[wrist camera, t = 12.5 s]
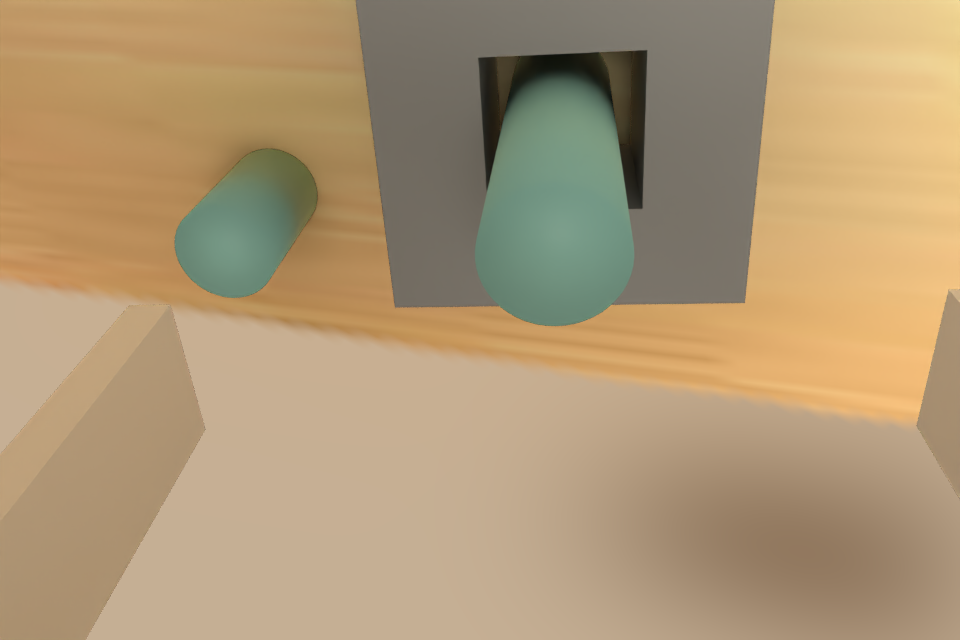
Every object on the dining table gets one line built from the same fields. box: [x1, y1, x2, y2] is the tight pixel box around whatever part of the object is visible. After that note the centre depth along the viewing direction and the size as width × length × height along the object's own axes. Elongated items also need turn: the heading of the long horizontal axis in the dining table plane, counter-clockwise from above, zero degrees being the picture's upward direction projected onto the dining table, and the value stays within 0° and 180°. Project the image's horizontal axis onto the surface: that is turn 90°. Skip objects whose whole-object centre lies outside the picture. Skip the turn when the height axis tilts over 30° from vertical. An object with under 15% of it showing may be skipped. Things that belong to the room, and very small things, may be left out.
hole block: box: [356, 0, 775, 307], centre depth 30 cm, size 12×12×6 cm
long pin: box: [475, 52, 634, 326], centre depth 26 cm, size 4×4×15 cm
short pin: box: [175, 149, 317, 298], centre depth 33 cm, size 4×4×6 cm
